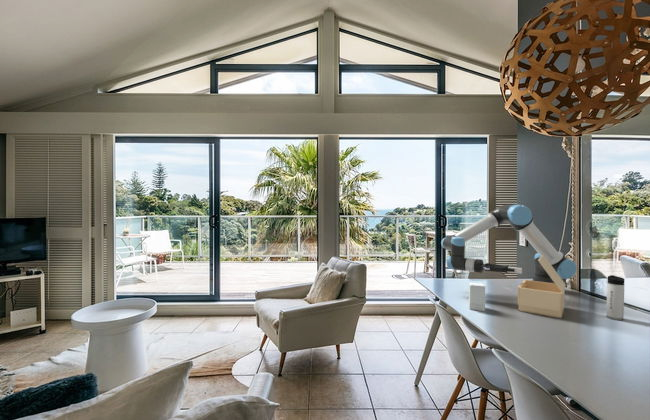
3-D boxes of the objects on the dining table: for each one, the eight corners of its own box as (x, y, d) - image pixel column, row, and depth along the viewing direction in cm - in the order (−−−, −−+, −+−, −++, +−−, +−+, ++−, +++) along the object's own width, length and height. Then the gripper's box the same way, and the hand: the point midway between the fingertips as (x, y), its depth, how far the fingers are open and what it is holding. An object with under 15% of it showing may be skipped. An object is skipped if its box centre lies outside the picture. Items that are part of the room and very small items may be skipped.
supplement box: (485, 311, 172) (485, 286, 172) (469, 309, 175) (469, 285, 174) (483, 307, 179) (484, 283, 179) (468, 305, 182) (468, 281, 181)
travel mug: (618, 316, 166) (619, 275, 166) (626, 321, 160) (627, 278, 159) (603, 315, 168) (604, 274, 167) (610, 319, 161) (611, 277, 161)
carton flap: (542, 255, 185) (543, 254, 185) (564, 285, 179) (565, 284, 179) (537, 260, 169) (539, 259, 168) (562, 293, 163) (563, 292, 162)
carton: (523, 300, 192) (524, 279, 191) (564, 307, 180) (564, 284, 180) (516, 310, 173) (517, 287, 173) (561, 318, 162) (562, 293, 162)
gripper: (477, 270, 202) (523, 276, 187) (471, 273, 191) (519, 280, 177) (478, 257, 201) (523, 262, 187) (472, 260, 191) (520, 265, 177)
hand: (521, 271), depth 182 cm, fingers closed
